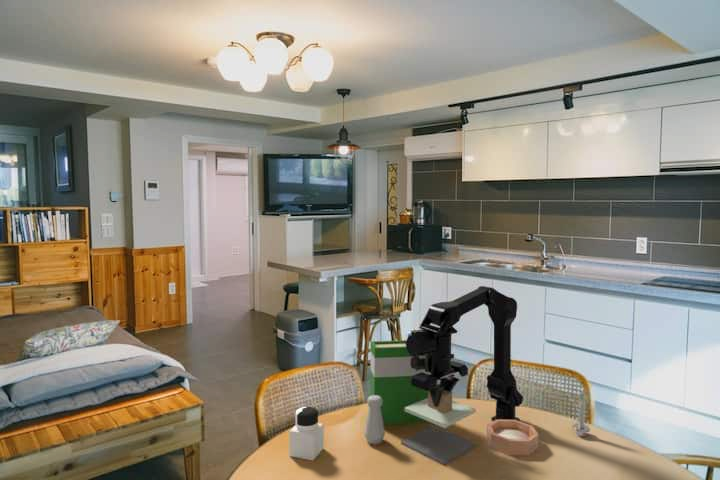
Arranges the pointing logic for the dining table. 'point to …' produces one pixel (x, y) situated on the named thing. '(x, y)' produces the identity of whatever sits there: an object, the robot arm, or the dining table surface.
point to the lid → (440, 410)
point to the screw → (581, 418)
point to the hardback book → (394, 381)
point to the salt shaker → (374, 421)
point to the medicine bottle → (306, 435)
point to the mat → (439, 444)
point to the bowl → (512, 437)
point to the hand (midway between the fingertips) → (439, 404)
